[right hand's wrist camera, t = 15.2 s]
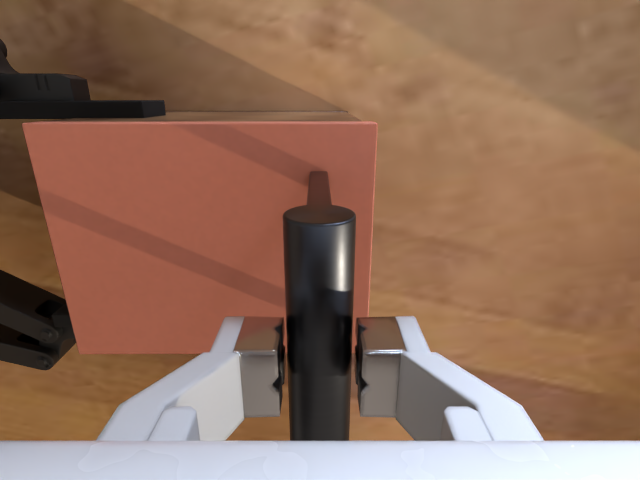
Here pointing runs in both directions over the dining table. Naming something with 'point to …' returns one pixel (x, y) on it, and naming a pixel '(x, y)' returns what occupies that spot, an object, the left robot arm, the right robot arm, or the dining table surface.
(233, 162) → the lid
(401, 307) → the dining table surface
